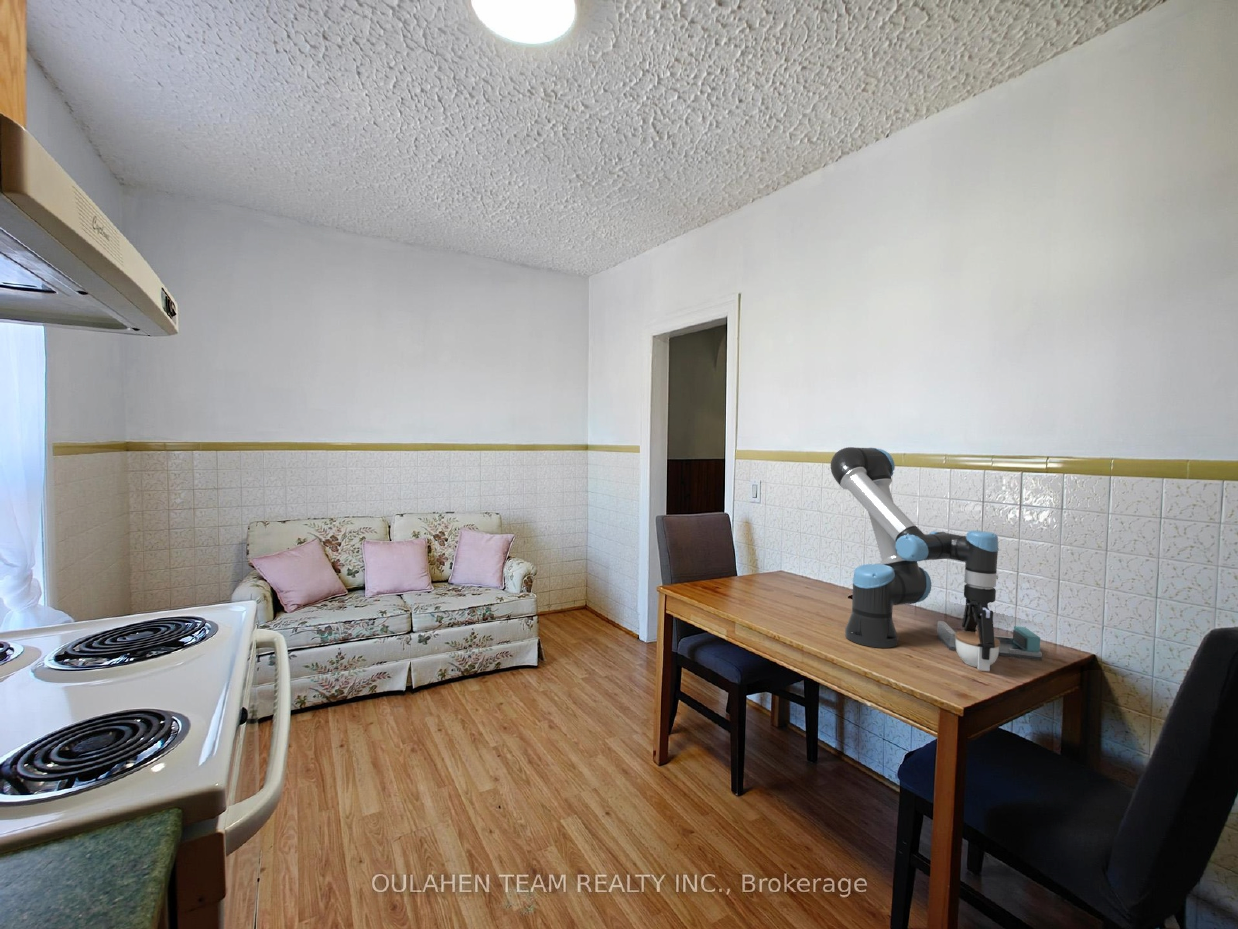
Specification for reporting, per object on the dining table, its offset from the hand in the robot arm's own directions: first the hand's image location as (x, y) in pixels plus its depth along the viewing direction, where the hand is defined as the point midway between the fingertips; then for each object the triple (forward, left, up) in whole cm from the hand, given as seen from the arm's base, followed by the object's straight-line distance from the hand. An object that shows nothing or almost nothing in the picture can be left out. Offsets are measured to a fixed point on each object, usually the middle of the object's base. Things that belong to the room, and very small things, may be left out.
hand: (976, 662), depth 155 cm
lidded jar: (0, 0, -1) cm, 1 cm away
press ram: (+18, +17, +1) cm, 25 cm away
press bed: (+8, +17, 0) cm, 18 cm away
